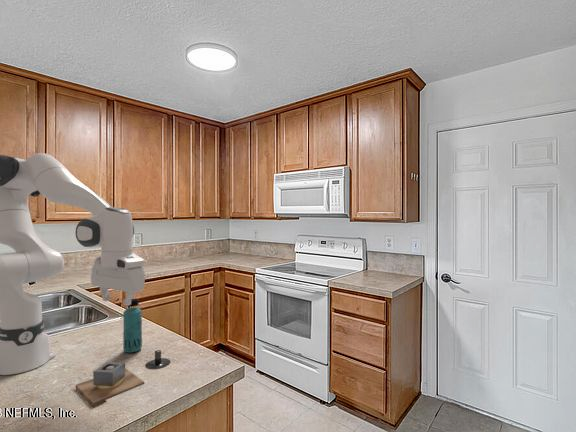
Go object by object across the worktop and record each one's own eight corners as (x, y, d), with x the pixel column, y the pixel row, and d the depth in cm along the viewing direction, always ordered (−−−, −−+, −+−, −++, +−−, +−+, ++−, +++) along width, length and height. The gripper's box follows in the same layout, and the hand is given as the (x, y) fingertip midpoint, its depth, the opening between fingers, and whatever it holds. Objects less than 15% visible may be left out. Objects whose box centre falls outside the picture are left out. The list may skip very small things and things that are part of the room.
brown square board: (75, 388, 96) (75, 368, 96) (124, 371, 107) (124, 353, 107) (93, 407, 87) (92, 385, 87) (144, 385, 98) (144, 366, 98)
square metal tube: (93, 385, 94) (93, 371, 94) (107, 374, 100) (106, 361, 100) (112, 386, 94) (112, 372, 94) (125, 375, 100) (125, 362, 99)
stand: (140, 366, 110) (140, 351, 110) (163, 358, 116) (163, 344, 116) (152, 374, 105) (152, 358, 105) (175, 365, 111) (174, 350, 111)
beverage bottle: (121, 357, 117) (120, 302, 116) (125, 350, 123) (124, 297, 123) (140, 355, 118) (140, 301, 118) (143, 348, 125) (143, 296, 125)
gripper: (85, 257, 103) (85, 300, 104) (131, 263, 95) (130, 310, 95) (104, 255, 109) (103, 295, 109) (148, 260, 100) (148, 304, 101)
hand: (116, 302), depth 102 cm, fingers open, 8 cm apart
